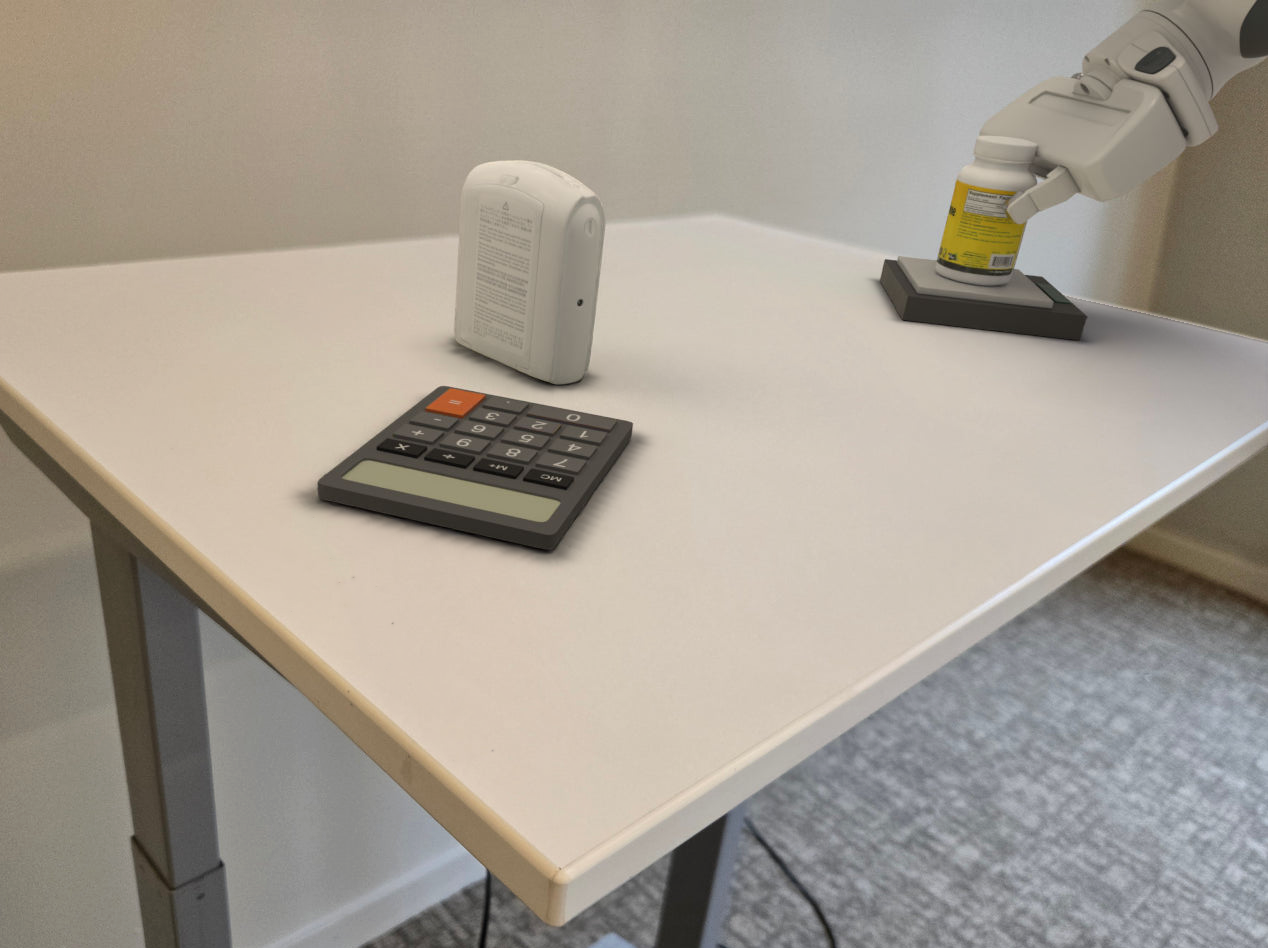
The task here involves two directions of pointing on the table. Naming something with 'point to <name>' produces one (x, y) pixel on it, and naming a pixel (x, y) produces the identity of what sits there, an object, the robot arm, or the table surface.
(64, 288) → the table surface
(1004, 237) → the pill bottle
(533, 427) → the calculator
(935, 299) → the scale
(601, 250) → the photo printer
